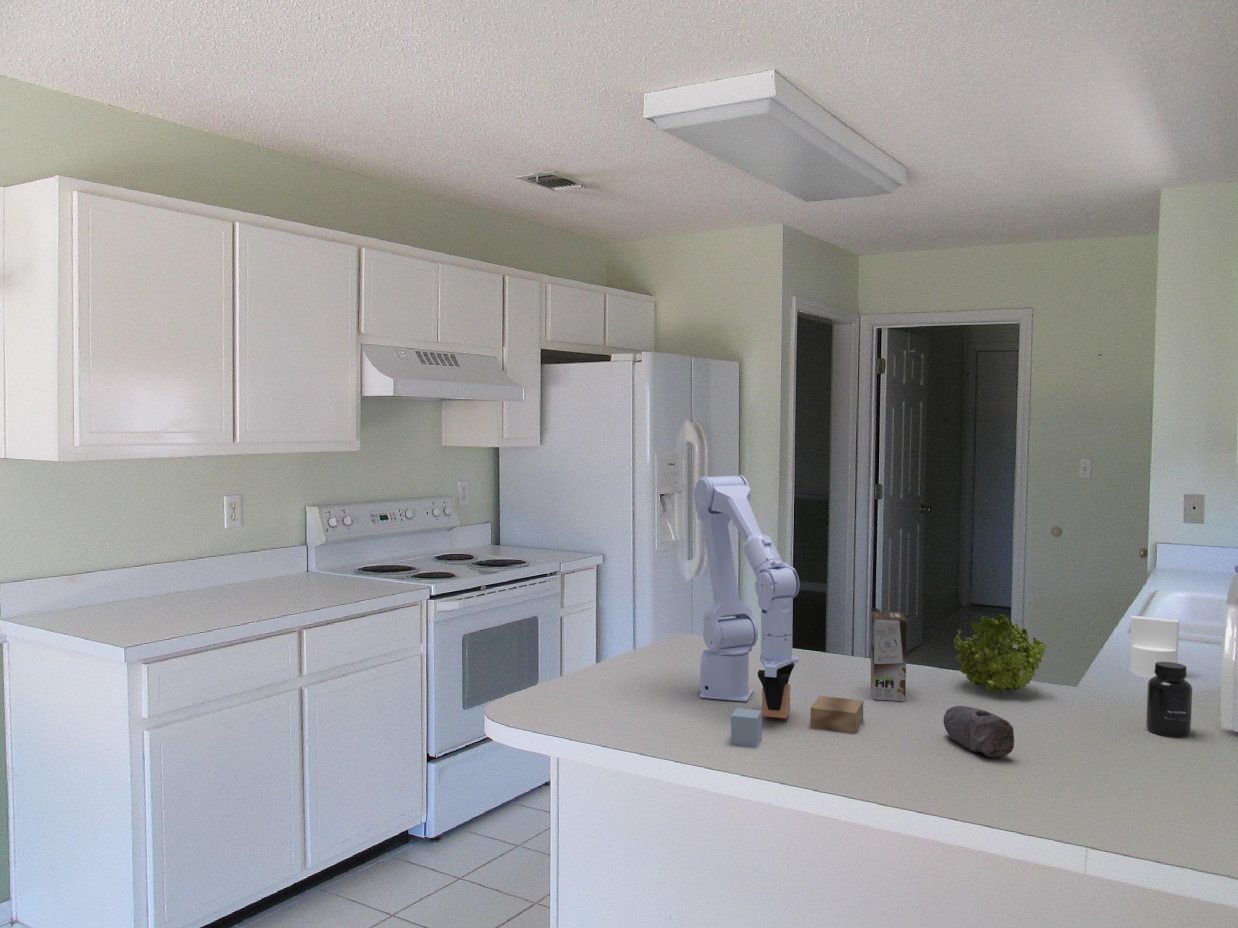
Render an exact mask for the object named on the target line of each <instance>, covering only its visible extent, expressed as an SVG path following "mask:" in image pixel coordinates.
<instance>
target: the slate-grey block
mask: <svg viewBox="0 0 1238 928" xmlns="http://www.w3.org/2000/svg"><path fill="white" fill-rule="evenodd" d="M762 721H763V716H762V709H761V710H760V709H749V708H739V707H736V708H735V709H734V710H733V712H732V714H731V715H730V745H732V746H733V745H734V746H743V747H751V746H755V747H754V748H758V747H759V744H760V742H761V741H762V740H763V739H762V738H763V735H762V734H763V733H762V732H763V727H762V726H763V723H762ZM757 746H758V747H757Z"/></svg>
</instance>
